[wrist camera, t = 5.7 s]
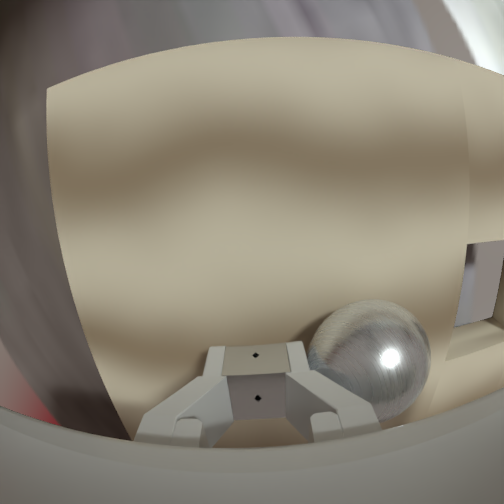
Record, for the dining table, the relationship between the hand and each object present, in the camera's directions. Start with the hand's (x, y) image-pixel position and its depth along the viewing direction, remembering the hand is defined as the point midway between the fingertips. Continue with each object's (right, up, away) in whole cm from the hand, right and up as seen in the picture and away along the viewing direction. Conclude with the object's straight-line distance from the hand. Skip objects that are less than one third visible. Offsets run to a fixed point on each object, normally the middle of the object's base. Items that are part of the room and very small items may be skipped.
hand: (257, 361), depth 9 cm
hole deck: (+6, +2, +3) cm, 7 cm away
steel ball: (+3, 0, -1) cm, 3 cm away
